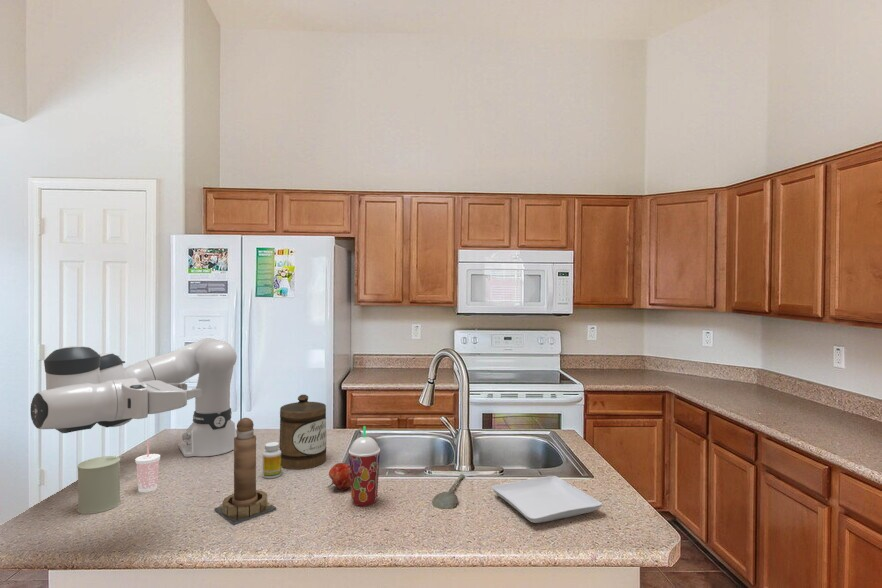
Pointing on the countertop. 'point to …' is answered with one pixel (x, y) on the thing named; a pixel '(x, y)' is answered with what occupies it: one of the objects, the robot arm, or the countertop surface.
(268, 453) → the supplement bottle
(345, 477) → the pomegranate
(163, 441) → the countertop surface
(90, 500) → the can
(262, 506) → the collar socket
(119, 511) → the countertop surface
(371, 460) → the smoothie
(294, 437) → the wooden container
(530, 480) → the salad plate
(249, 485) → the pepper mill
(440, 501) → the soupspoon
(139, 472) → the beverage cup
